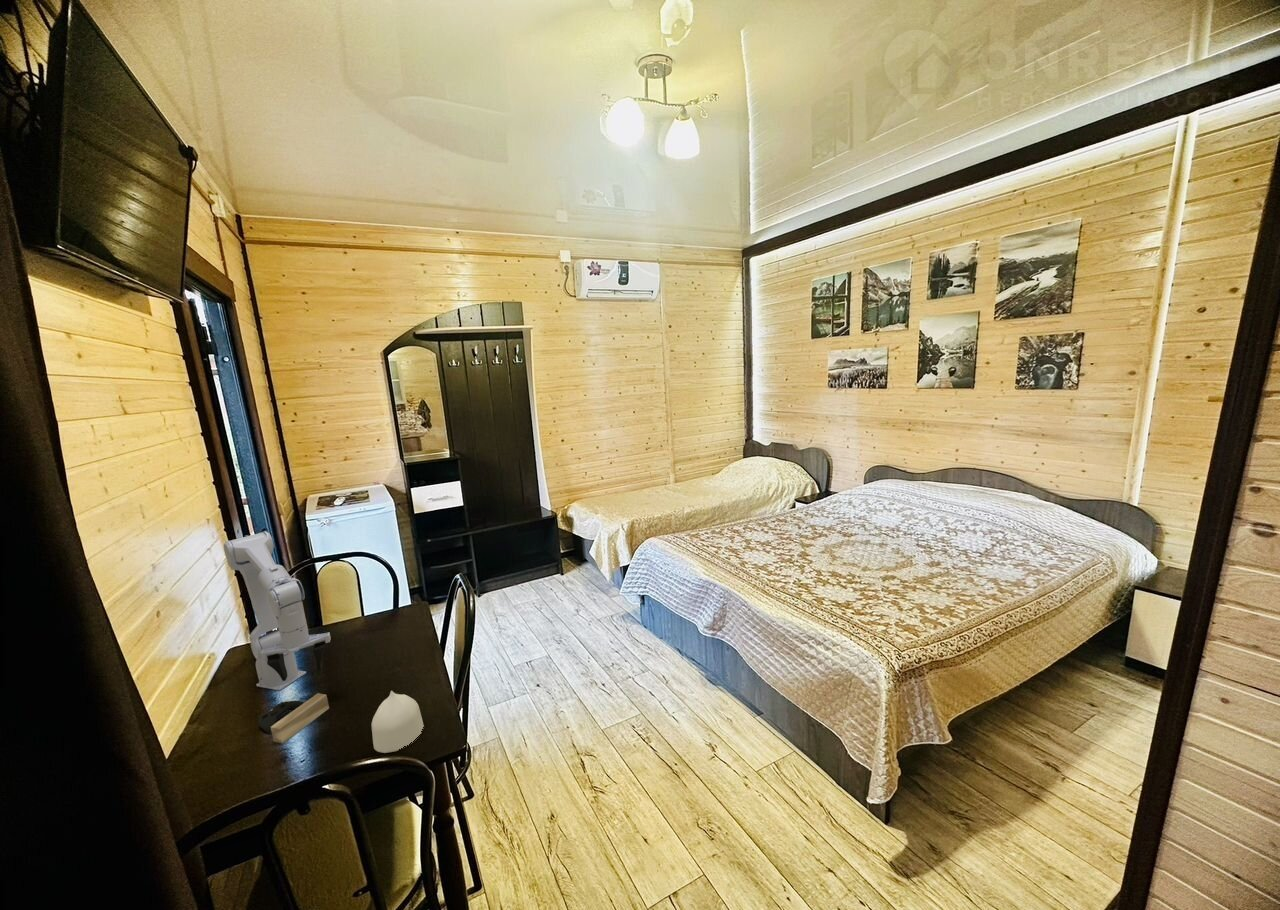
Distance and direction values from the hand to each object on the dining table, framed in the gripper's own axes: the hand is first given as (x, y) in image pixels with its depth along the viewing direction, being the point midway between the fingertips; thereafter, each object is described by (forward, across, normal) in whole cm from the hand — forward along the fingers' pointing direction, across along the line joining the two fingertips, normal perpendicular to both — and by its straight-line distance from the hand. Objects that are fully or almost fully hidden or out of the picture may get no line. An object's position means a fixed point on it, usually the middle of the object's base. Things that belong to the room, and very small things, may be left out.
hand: (302, 673), depth 121 cm
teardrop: (+9, +22, -25) cm, 35 cm away
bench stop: (+9, 0, -8) cm, 12 cm away
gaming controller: (+10, -6, -3) cm, 12 cm away
